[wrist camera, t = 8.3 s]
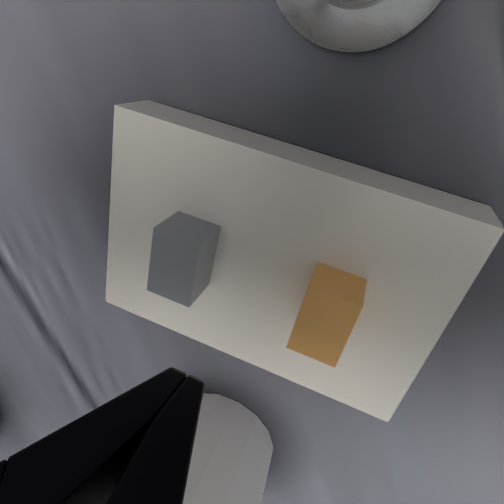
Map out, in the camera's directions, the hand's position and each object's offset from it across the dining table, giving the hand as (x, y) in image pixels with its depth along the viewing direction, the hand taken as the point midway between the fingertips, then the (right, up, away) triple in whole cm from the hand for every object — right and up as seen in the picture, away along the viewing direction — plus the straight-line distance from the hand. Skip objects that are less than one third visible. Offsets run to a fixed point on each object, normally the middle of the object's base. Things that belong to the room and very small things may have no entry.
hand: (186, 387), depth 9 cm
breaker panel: (+2, +3, +6) cm, 8 cm away
